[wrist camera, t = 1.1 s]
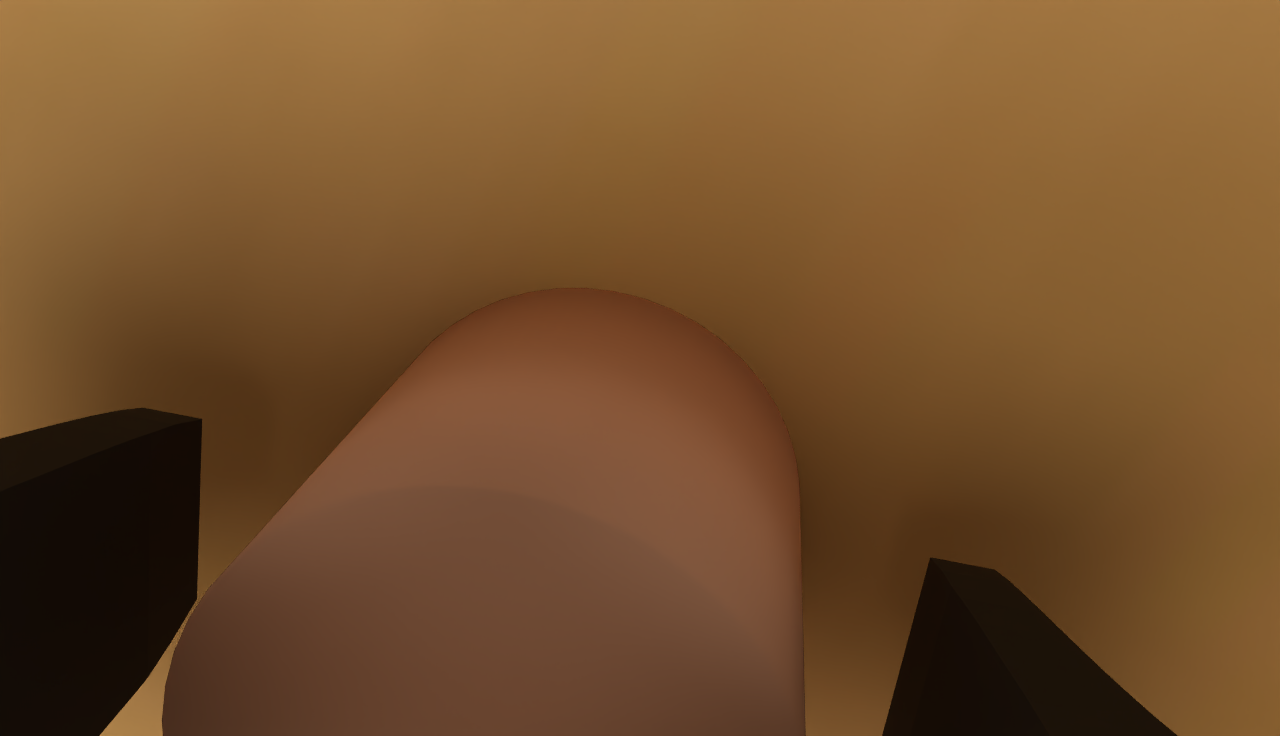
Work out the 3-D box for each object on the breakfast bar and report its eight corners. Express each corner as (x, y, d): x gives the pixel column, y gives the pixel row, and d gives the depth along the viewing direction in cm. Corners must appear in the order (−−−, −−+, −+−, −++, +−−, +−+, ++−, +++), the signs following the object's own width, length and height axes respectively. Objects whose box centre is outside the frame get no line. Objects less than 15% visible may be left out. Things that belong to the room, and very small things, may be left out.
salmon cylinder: (841, 332, 13) (873, 561, 8) (756, 713, 14) (740, 1091, 9) (394, 250, 13) (167, 425, 8) (362, 634, 14) (157, 963, 10)
